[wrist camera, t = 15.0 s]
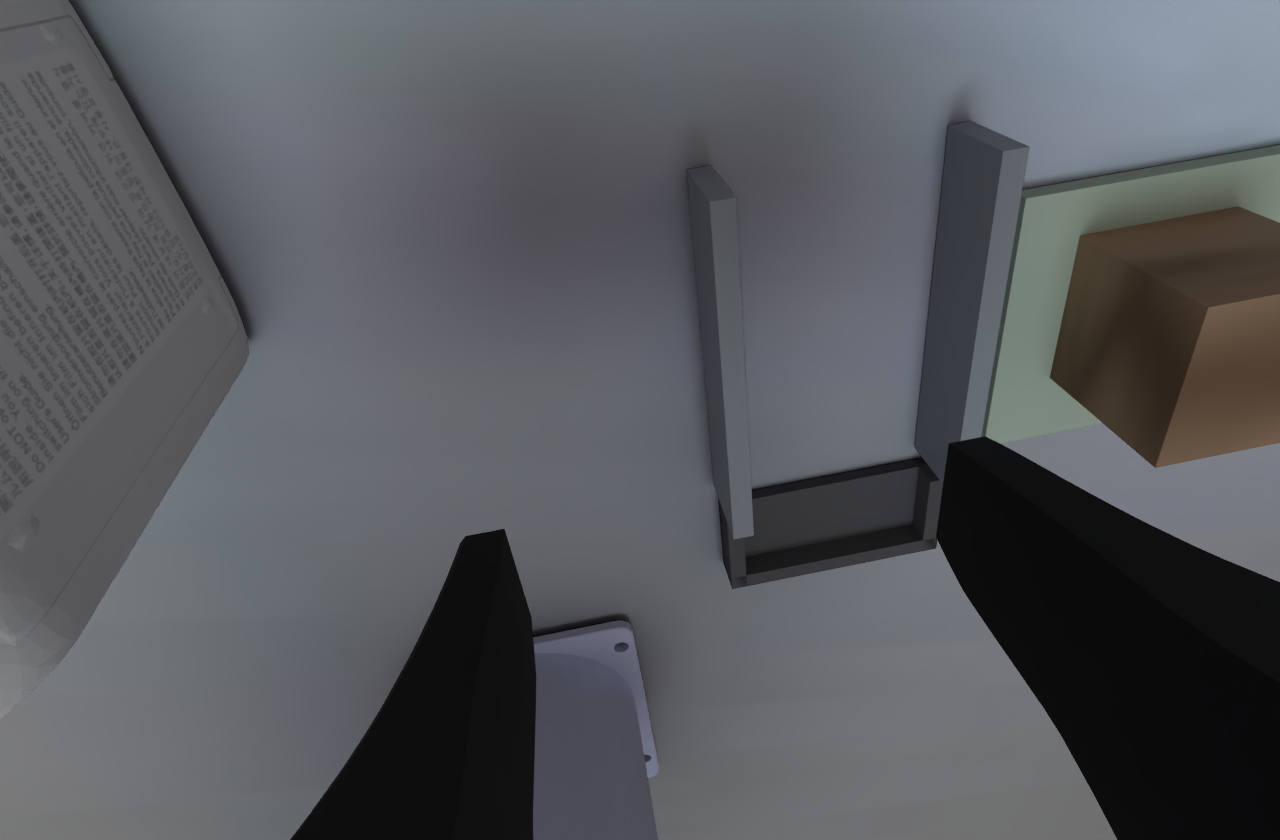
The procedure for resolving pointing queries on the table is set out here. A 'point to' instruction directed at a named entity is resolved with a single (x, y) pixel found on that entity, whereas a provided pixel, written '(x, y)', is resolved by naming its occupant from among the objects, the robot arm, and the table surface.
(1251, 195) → the coaster
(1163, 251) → the block
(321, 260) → the table surface
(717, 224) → the channel
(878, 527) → the tray
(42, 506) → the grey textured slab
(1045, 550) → the robot arm
